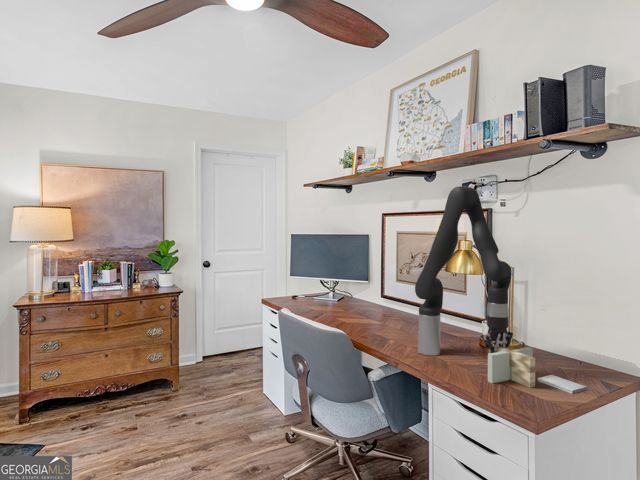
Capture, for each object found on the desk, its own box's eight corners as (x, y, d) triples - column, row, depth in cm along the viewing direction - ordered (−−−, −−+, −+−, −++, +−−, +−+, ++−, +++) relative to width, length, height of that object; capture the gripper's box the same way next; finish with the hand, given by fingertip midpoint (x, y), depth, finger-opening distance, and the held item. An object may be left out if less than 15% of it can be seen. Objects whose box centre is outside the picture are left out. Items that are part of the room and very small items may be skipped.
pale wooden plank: (535, 386, 135) (535, 357, 135) (530, 387, 134) (530, 358, 134) (493, 369, 152) (493, 344, 151) (488, 370, 151) (488, 344, 151)
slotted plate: (492, 383, 138) (492, 355, 138) (487, 381, 140) (487, 353, 140) (532, 375, 146) (532, 348, 146) (527, 373, 148) (527, 347, 147)
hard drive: (587, 386, 133) (552, 374, 144) (572, 390, 129) (537, 377, 140) (587, 391, 133) (552, 378, 144) (572, 395, 129) (537, 382, 141)
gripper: (503, 310, 154) (503, 354, 154) (475, 314, 149) (475, 359, 149) (519, 314, 147) (519, 360, 148) (491, 318, 142) (491, 365, 142)
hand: (497, 359), depth 148 cm, fingers open, 3 cm apart
